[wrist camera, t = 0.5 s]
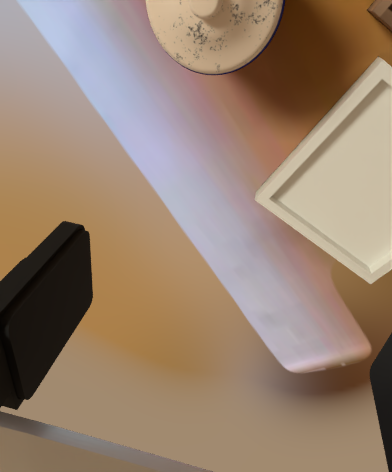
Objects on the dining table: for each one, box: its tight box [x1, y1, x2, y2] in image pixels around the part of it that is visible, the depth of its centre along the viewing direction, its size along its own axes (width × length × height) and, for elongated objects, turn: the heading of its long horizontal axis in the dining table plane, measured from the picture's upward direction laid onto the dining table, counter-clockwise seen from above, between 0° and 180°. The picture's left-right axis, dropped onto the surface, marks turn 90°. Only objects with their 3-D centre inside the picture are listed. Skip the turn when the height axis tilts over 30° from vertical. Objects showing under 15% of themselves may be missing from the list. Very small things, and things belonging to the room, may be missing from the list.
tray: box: [255, 56, 392, 284], centre depth 36 cm, size 16×16×2 cm
